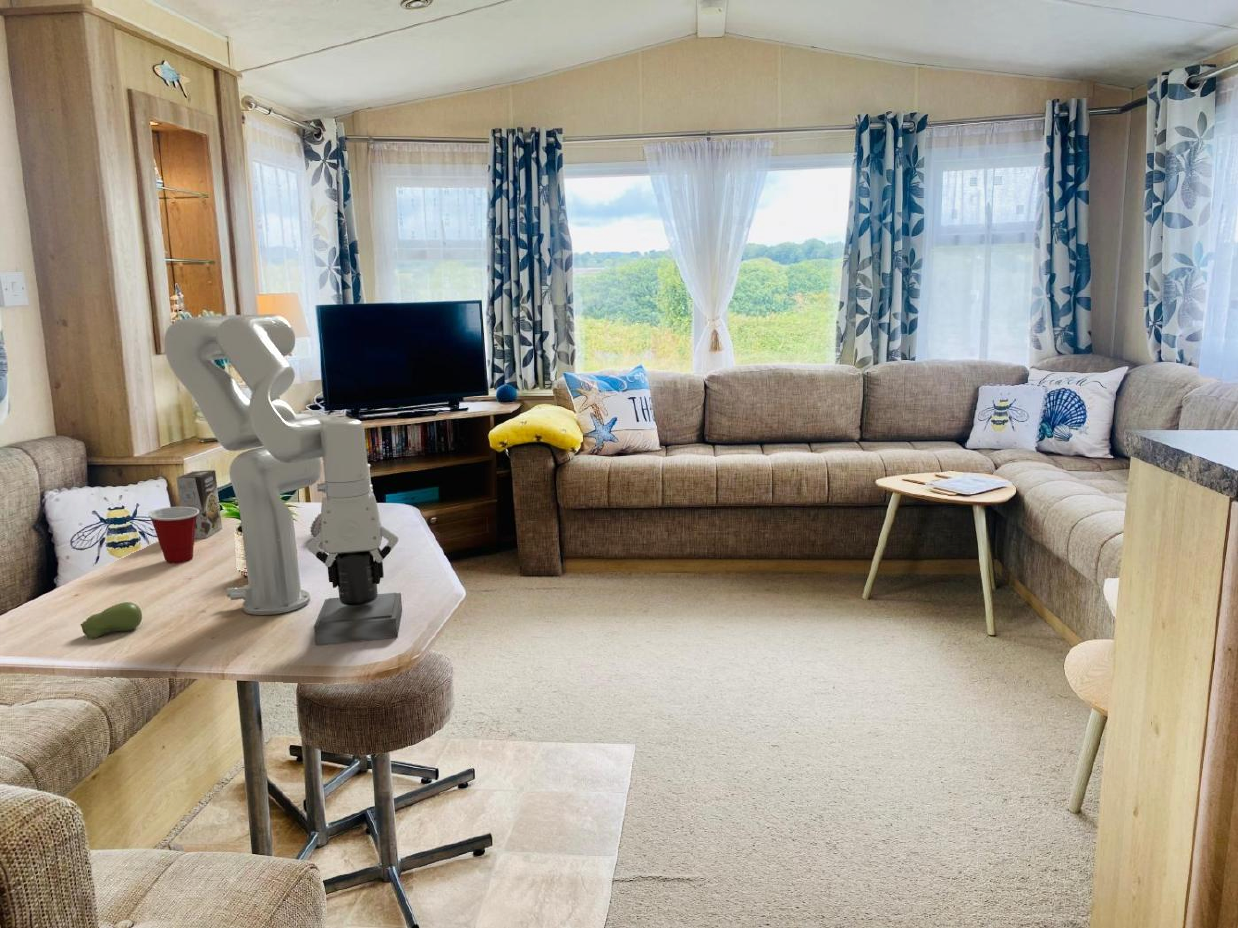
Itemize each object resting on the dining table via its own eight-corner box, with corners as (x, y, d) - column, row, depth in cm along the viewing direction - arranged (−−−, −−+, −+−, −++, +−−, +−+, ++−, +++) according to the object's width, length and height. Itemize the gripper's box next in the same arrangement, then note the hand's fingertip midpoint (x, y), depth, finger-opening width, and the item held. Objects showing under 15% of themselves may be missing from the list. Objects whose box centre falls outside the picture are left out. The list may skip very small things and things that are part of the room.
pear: (136, 603, 168) (76, 622, 164) (145, 629, 169) (86, 648, 165) (136, 594, 173) (78, 612, 169) (145, 619, 174) (88, 638, 170)
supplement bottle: (366, 591, 171) (360, 529, 169) (385, 598, 166) (379, 535, 164) (332, 600, 167) (325, 537, 164) (350, 609, 162) (344, 544, 159)
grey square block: (315, 645, 160) (313, 623, 159) (327, 617, 173) (325, 597, 172) (397, 637, 162) (395, 616, 161) (402, 610, 176) (400, 590, 175)
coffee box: (207, 538, 233) (200, 476, 230) (183, 539, 233) (174, 477, 230) (223, 528, 242) (216, 469, 239) (199, 529, 242) (192, 470, 239)
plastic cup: (186, 567, 208) (180, 517, 206) (144, 566, 210) (137, 516, 208) (215, 553, 219) (209, 505, 216) (174, 553, 220) (168, 504, 218)
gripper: (293, 496, 157) (304, 594, 161) (396, 489, 160) (404, 585, 164) (300, 487, 165) (310, 581, 168) (399, 480, 168) (406, 573, 171)
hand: (357, 582), depth 166 cm, fingers closed on supplement bottle, 6 cm apart
